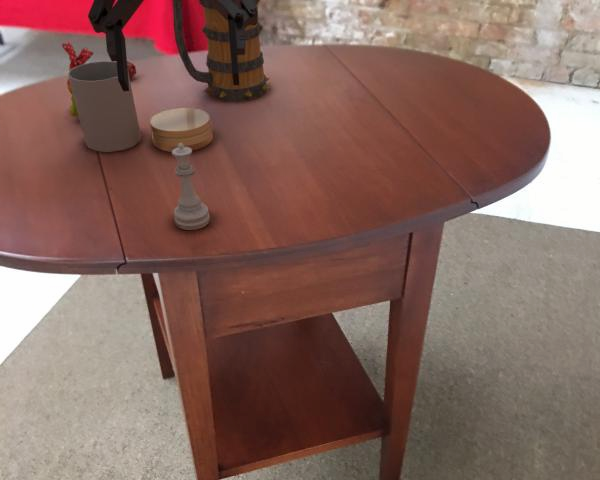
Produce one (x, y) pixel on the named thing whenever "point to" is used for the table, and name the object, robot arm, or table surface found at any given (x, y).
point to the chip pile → (181, 129)
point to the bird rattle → (74, 63)
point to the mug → (224, 56)
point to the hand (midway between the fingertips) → (180, 83)
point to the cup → (104, 107)
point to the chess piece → (188, 194)
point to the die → (131, 69)
